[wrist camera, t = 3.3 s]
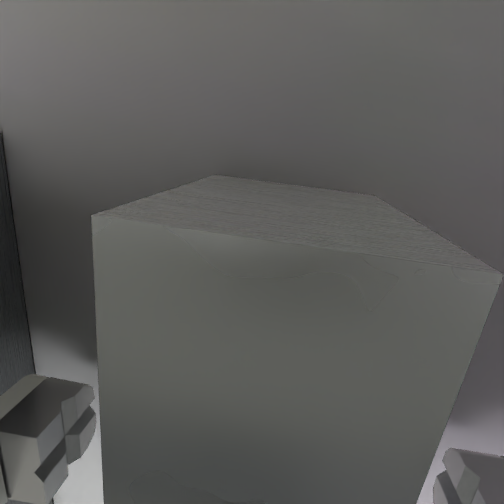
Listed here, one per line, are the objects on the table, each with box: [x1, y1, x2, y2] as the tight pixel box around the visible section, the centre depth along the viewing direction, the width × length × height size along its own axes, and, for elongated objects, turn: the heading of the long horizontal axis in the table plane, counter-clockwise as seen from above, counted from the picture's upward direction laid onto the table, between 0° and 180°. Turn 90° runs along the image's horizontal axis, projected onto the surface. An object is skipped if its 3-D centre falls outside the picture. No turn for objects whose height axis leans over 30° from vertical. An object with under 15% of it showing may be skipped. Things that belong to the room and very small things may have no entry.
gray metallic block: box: [91, 175, 504, 504], centre depth 7 cm, size 11×4×5 cm, turn 174°
